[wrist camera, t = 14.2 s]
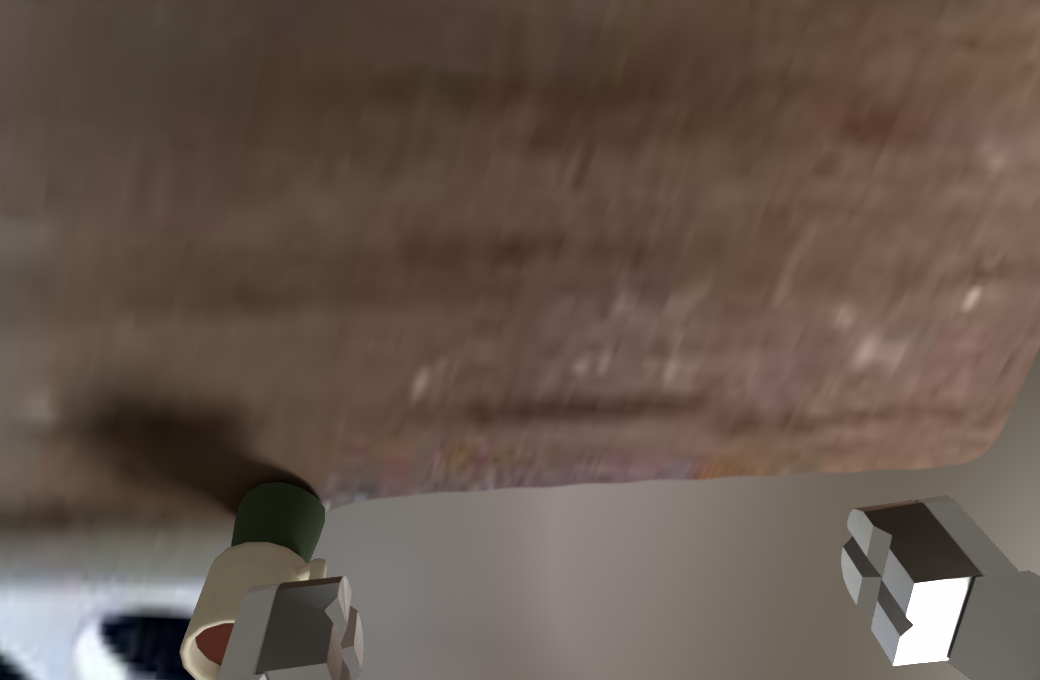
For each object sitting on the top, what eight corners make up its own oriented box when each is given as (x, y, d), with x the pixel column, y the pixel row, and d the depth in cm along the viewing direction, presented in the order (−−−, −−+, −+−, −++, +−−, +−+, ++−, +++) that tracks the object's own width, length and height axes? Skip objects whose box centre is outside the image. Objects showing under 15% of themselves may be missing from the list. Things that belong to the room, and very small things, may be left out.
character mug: (259, 565, 57) (212, 721, 46) (194, 509, 54) (127, 663, 43) (371, 505, 55) (351, 653, 44) (311, 443, 52) (273, 587, 40)
